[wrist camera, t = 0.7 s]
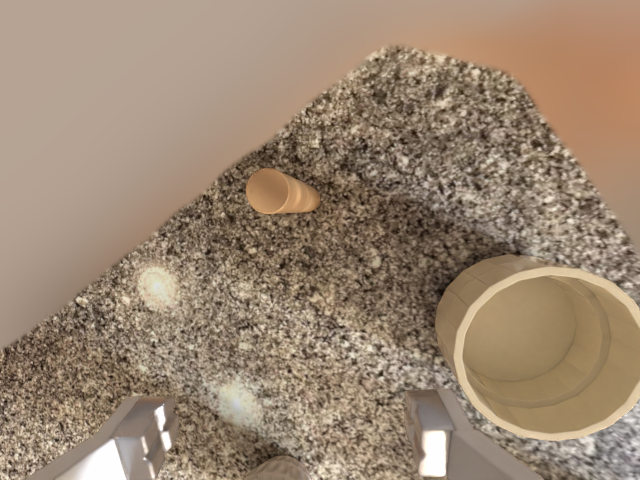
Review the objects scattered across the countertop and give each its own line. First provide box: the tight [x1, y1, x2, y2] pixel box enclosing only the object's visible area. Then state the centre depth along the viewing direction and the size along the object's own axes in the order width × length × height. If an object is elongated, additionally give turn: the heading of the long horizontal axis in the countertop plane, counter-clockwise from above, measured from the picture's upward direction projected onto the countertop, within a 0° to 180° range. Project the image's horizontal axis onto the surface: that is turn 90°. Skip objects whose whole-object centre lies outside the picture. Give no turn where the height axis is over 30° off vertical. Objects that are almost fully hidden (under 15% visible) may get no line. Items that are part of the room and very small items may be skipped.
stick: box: [246, 168, 320, 214], centre depth 25 cm, size 3×3×14 cm
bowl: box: [435, 254, 640, 441], centre depth 27 cm, size 14×14×7 cm
